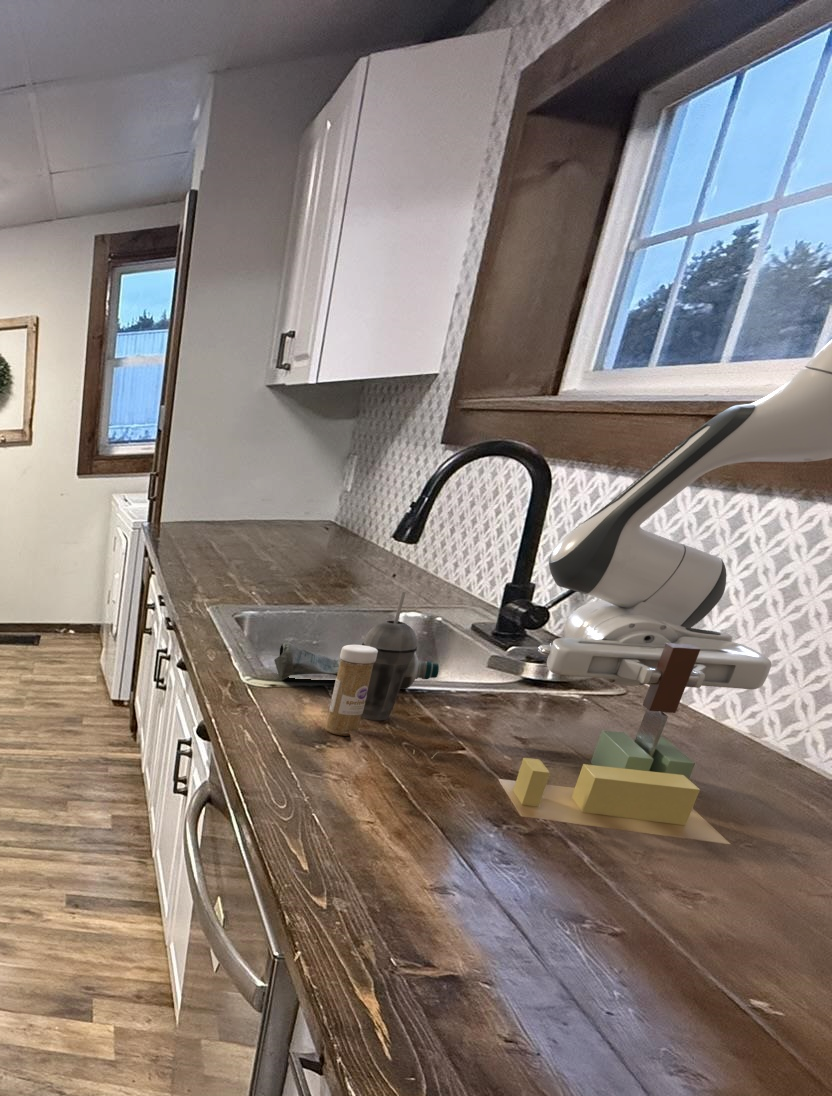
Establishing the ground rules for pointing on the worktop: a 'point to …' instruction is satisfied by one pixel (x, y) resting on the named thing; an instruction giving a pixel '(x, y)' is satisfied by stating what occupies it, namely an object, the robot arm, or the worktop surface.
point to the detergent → (311, 663)
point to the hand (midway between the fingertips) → (674, 679)
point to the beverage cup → (388, 664)
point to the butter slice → (531, 782)
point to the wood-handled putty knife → (665, 692)
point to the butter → (635, 794)
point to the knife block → (640, 755)
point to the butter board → (564, 809)
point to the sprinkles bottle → (350, 689)
